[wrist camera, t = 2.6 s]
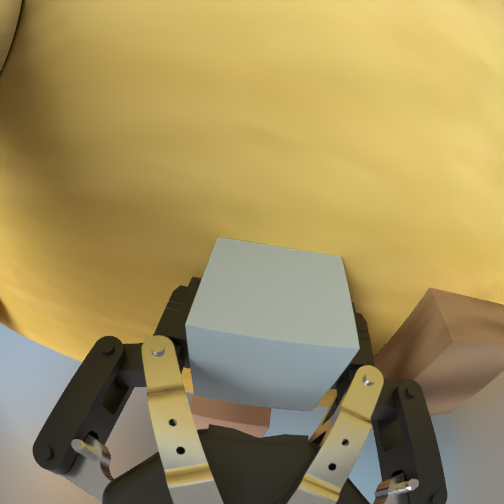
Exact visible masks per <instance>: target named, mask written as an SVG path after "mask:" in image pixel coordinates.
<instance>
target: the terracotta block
mask: <svg viewBox="0 0 504 504" xmlns="http://www.w3.org/2000/svg"><path fill="white" fill-rule="evenodd" d="M190 410H191V413H192V417H193V420H194V423H195V426H196V430H198V429H208V427H209V424H212V425H218V426H223V427H229V428H234V429H237V430H239V431H242V432H244V433H247V434H250V435H252V436H255V437H259V438H262V437H263V436H264V434H265V433H266V431H267V430H268V428H269V424H270V414H271V408H268V407H260V406H252V405H245V404H239V403H232V402H226V401H221V400H216V399H210V398H205V397H201V396H196V395H193V399H192V402H191V406H190Z"/></svg>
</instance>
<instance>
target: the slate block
mask: <svg viewBox="0 0 504 504" xmlns="http://www.w3.org/2000/svg"><path fill="white" fill-rule="evenodd" d="M185 327H186V336H187V345H188V353H189V361H190V368H191V375H192V382H193V389H194V395H196V396H201V397H205V398H210V399H216V400H221V401H226V402H232V403H239V404H245V405H252V406H260V407H268V408H278V409H289V410H302V411H312V410H313V409H314V408H315V406H316V405H317V404H318V403H319V402H320V400H321V399H322V398H323V397H324V396H325V394H326V393H327V392H328V391H329V389H330V388H331V387H332V386H333V384H334V383H335V382H336V380H337V379H338V378H339V377H340V375H341V374H342V373H343V371H344V370H345V369H346V367H347V366H348V365H349V363H350V362H351V360H352V359H353V358H354V356H355V355H356V353H357V352H358V351H359V349H360V347H359V341H358V335H357V329H356V324H355V318H354V313H353V308H352V302H351V298H350V293H349V288H348V283H347V279H346V274H345V270H344V265H343V261H342V257H339V256H333V255H327V254H321V253H315V252H309V251H303V250H297V249H291V248H285V247H279V246H273V245H266V244H260V243H254V242H248V241H241V240H235V239H229V238H222V237H218V238H217V241H216V243H215V246H214V249H213V251H212V254H211V256H210V259H209V261H208V264H207V267H206V269H205V272H204V275H203V277H202V280H201V283H200V285H199V288H198V291H197V293H196V296H195V299H194V302H193V304H192V307H191V310H190V313H189V315H188V318H187V321H186V324H185Z"/></svg>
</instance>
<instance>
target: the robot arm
mask: <svg viewBox="0 0 504 504" xmlns="http://www.w3.org/2000/svg"><path fill="white" fill-rule="evenodd" d="M21 3H22V0H0V71H1V69H2V67H3V65H4V62H5V59H6V57H7V54H8V52H9V49H10V46H11V43H12V39H13V36H14V33H15V30H16V26H17V22H18V18H19V13H20V8H21ZM201 280H202V278H197V277H192V279H191V281H190V283H189V286H188V287H186V286H181V285H180V286H179V287H178V288H177V289H176V290H174V291H173V293H172V295H171V297H170V299H169V302H168V304H167V306H166V309H165V310H164V312H163V315H162V317H161V319H160V322H159V324H158V326H157V328H156V331H155V333H154V335H153V336H152V337H150V338H148V339H147V340H145V342H143V343H138V344H122V342H121V341H120V340H119V339H118V338H116V337H114V336H105V337H102V338H101V339H99V340H98V341H97V342H96V343H95V345H94V346H93V348H92V349H91V350H90V352H89V353H88V355H87V356H86V358H85V359H84V361H83V362H82V364H81V365H80V367H79V368H78V370H77V372H76V373H75V375H74V376H73V378H72V379H71V381H70V383H69V384H68V386H67V387H66V389H65V390H64V392H63V394H62V395H61V397H60V399H59V400H58V402H57V404H56V405H55V407H54V409H53V410H52V412H51V414H50V415H49V417H48V419H47V421H46V423H45V424H44V426H43V428H42V430H41V431H40V433H39V435H38V437H37V439H36V441H35V443H34V445H33V456H34V458H35V460H36V462H37V463H38V464H39V465H40V466H41V467H42V468H44V469H47V470H49V471H51V472H53V473H55V474H58V475H60V476H63V477H65V478H66V479H68V480H70V481H71V482H72V483H74V484H75V485H77V486H78V487H80V488H81V489H83V490H84V491H86V492H87V493H89V494H91V495H93V496H94V497H96V498H97V499H99V500H101V501H102V504H370V503H369V502H368V501H367V499H366V498H365V497H364V496H363V495H362V494H361V493H360V491H359V490H358V489H357V488H356V486H355V485H354V484H353V483H352V482H351V480H350V479H349V478H348V476H349V474H350V472H351V470H352V468H353V466H354V464H355V462H356V460H357V458H358V456H359V454H360V452H361V450H362V448H363V445H364V443H365V441H366V439H367V436H368V434H369V432H370V429H371V426H372V425H373V430H374V435H375V441H376V446H377V451H378V458H379V463H380V470H381V476H382V482H381V483H380V484H379V485H378V487H377V489H376V492H375V501H374V503H373V504H445V503H446V500H447V489H446V483H445V478H444V473H443V467H442V463H441V457H440V453H439V449H438V444H437V440H436V436H435V433H434V429H433V425H432V421H431V418H430V414H429V411H428V407H427V404H426V401H425V397H424V394H423V391H422V388H421V386H420V385H419V384H418V383H417V382H416V381H414V380H411V379H407V380H404V381H402V382H401V383H400V384H399V383H396V382H393V381H390V380H387V379H385V378H383V375H382V373H381V372H380V371H379V370H378V369H377V368H375V365H374V359H373V353H372V348H371V342H370V340H369V339H370V337H369V333H368V327H367V323H366V321H365V319H364V318H363V316H362V315H361V314H358V313H356V312H355V307H354V303H353V302H352V308H353V313H354V318H355V324H356V329H357V335H358V341H359V347H360V349H359V351H358V352H357V353H356V355H355V356H354V358H353V359H352V360H351V362H350V363H349V365H348V366H347V367H346V369H345V370H344V371H343V373H342V374H341V375H340V377H339V378H338V379H337V380H336V382H335V383H334V384H333V386H332V387H331V388H330V389H337V395H336V396H335V398H334V400H333V402H332V403H331V405H330V407H329V409H328V411H327V413H326V415H325V416H324V418H323V420H322V422H321V423H320V425H319V427H318V428H317V430H316V431H315V432H314V434H313V435H312V436H311V438H310V439H309V441H308V436H303V435H302V436H301V435H287V434H284V435H277V436H271V437H262V438H259V437H255V436H252V435H250V434H247V433H244V432H242V431H239V430H237V429H234V428H229V427H223V426H218V425H212V424H209V427H208V429H198V430H196V426H195V423H194V420H193V417H192V413H191V410H190V406H189V403H188V399H187V396H186V392H185V388H184V385H183V382H182V378H181V373H182V370H183V367H185V368H190V361H189V353H188V345H187V336H186V327H185V324H186V321H187V318H188V315H189V313H190V310H191V307H192V304H193V302H194V299H195V296H196V293H197V291H198V288H199V285H200V283H201ZM134 387H147V390H148V393H147V401H148V406H149V410H150V416H151V420H152V425H153V429H154V434H155V437H156V442H157V446H158V450H159V451H158V452H157V453H155V454H154V455H152V456H151V457H149V458H148V459H147V460H145V461H143V462H142V463H140V464H138V465H137V466H135V467H134V468H132V469H130V470H129V471H127V472H126V473H124V474H122V475H121V476H119V477H117V478H115V479H114V478H113V477H112V476H111V474H110V470H109V465H110V461H111V455H110V452H109V450H108V448H107V447H106V446H105V443H106V441H107V439H108V437H109V435H110V433H111V431H112V429H113V427H114V425H115V423H116V421H117V419H118V418H119V416H120V414H121V412H122V410H123V408H124V406H125V404H126V402H127V400H128V398H129V397H130V395H131V393H132V391H133V389H134ZM370 419H371V421H372V422H371V421H370Z"/></svg>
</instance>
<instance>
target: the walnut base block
mask: <svg viewBox="0 0 504 504" xmlns="http://www.w3.org/2000/svg"><path fill="white" fill-rule="evenodd" d="M374 365H375V368H377V369H378V370H379V371H380V372H381V373H382V375H383V378H385V379H387V380H390V381H393V382H396V383H399V384H400V383H401V382H402V381H404V380H407V379H411V380H414V381H416V382H417V383H418V384H419V385H420V386H421V388H422V391H423V394H424V397H425V401H426V404H427V407H428V411H429V414H430V415H437V414H444V413H450V412H452V411H453V410H455V409H456V408H458V407H459V406H460V405H462V404H463V403H464V402H466V401H467V400H468V399H470V398H471V397H472V396H473V395H475V394H476V393H477V392H479V391H480V390H481V389H482V388H484V387H485V386H486V385H487V384H488V383H490V382H491V381H492V380H493V379H494V378H495V377H496V376H498V375H499V374H500V373H501V372H502V371H503V370H504V305H502V304H498V303H494V302H489V301H485V300H481V299H477V298H472V297H468V296H464V295H459V294H455V293H451V292H446V291H442V290H438V289H433V288H429V289H428V291H427V292H426V294H425V295H424V296H423V298H422V299H421V301H420V302H419V303H418V305H417V306H416V307H415V309H414V310H413V311H412V313H411V314H410V315H409V317H408V318H407V319H406V321H405V322H404V323H403V324H402V326H401V327H400V328H399V329H398V331H397V332H396V333H395V334H394V335H393V337H392V338H391V339H390V340H389V341H388V343H387V344H386V345H385V346H384V347H383V348H382V350H381V351H380V352H379V353H378V354H377V355H376V356H375V357H374Z"/></svg>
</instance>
